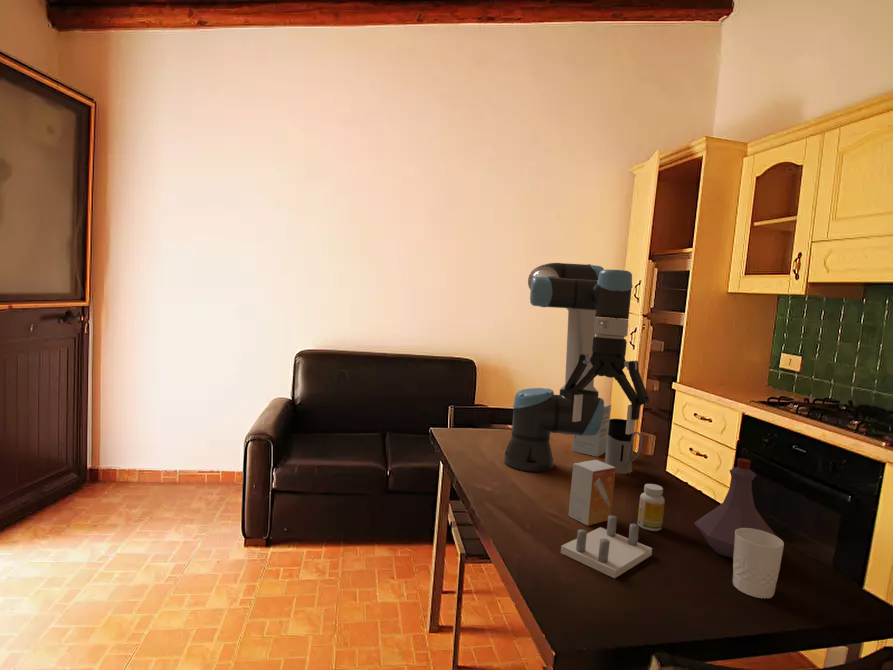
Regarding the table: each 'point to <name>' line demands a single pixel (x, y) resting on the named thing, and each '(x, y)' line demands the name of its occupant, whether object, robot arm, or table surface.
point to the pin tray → (615, 553)
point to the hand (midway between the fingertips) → (602, 427)
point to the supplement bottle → (651, 508)
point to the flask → (733, 512)
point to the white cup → (756, 562)
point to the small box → (591, 492)
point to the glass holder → (620, 446)
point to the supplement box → (594, 438)
